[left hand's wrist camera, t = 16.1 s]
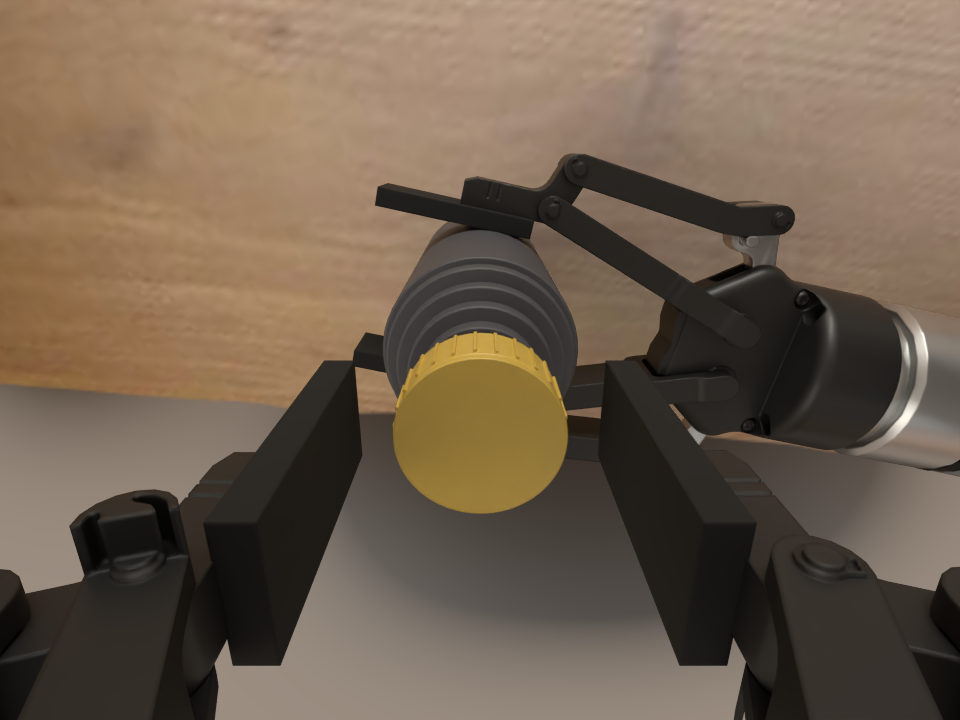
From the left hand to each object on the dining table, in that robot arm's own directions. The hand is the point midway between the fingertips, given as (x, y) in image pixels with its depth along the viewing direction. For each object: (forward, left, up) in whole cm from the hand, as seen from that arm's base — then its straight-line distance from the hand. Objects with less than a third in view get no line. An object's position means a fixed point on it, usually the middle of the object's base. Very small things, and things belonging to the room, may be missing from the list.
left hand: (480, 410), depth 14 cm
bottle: (0, 0, -18) cm, 18 cm away
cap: (0, 0, +1) cm, 1 cm away
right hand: (-5, 0, -12) cm, 13 cm away
